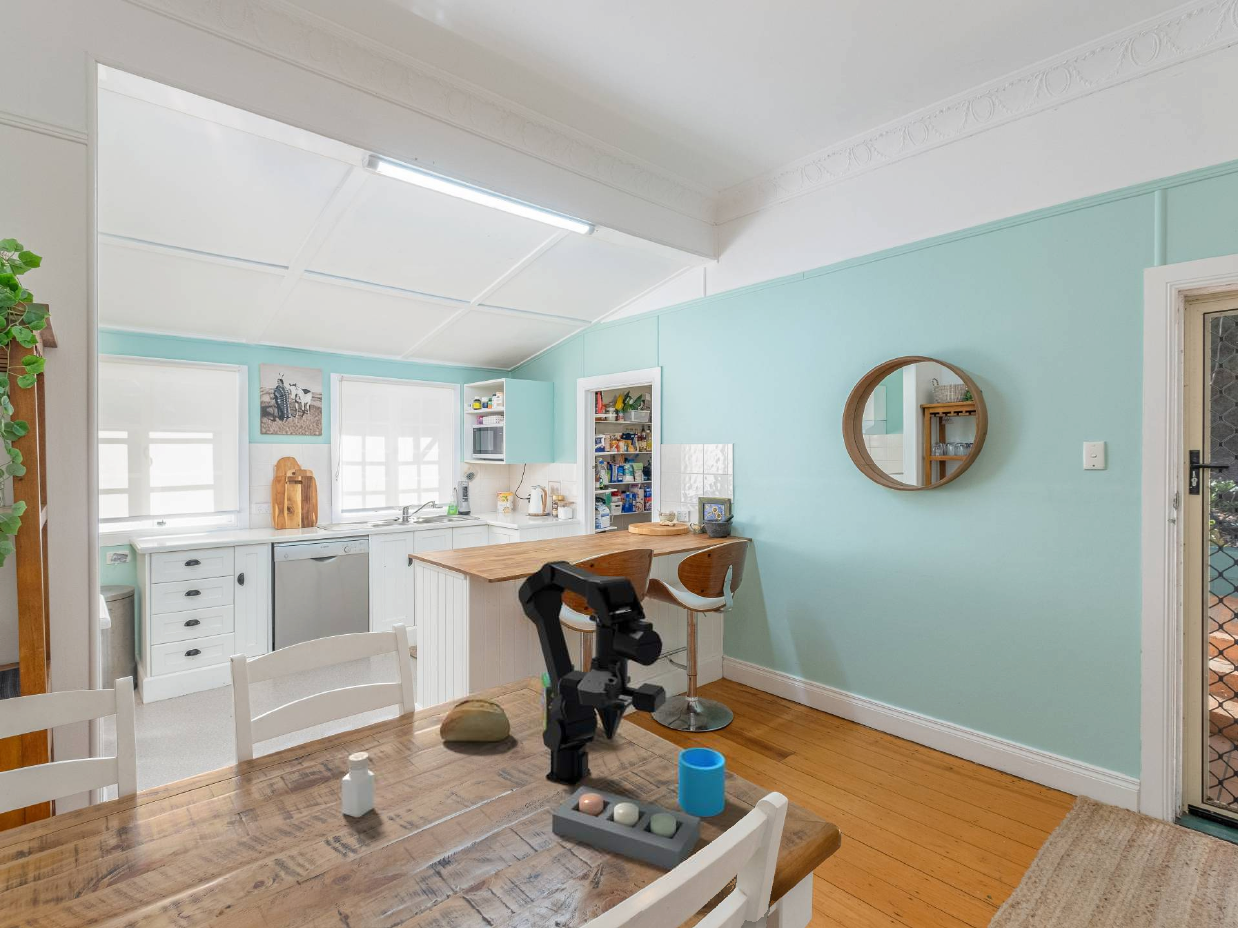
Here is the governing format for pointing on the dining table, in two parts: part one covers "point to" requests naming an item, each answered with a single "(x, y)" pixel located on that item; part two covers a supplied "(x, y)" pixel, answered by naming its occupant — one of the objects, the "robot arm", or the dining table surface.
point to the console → (627, 830)
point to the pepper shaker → (358, 786)
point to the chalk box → (547, 699)
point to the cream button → (626, 814)
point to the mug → (701, 782)
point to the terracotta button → (591, 804)
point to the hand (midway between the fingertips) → (610, 738)
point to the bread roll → (475, 722)
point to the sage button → (663, 825)
